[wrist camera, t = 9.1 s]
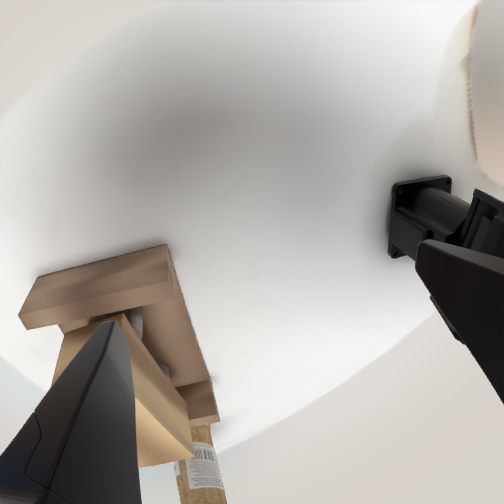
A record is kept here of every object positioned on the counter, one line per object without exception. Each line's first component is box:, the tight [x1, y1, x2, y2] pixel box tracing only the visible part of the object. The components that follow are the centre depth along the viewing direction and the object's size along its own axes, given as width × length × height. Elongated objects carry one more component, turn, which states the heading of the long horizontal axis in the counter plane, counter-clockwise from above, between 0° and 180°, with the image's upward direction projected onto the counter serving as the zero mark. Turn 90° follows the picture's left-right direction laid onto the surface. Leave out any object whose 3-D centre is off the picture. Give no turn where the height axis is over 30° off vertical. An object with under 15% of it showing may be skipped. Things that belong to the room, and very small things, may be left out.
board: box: [51, 313, 195, 468], centre depth 18 cm, size 4×10×5 cm, turn 15°
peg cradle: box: [18, 244, 220, 427], centre depth 21 cm, size 10×14×4 cm
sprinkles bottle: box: [174, 424, 227, 504], centre depth 25 cm, size 5×5×13 cm
